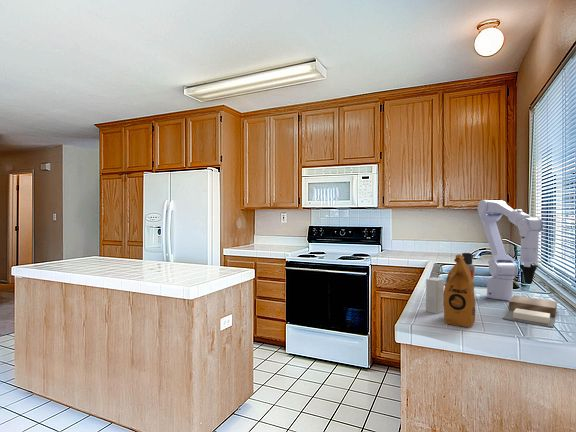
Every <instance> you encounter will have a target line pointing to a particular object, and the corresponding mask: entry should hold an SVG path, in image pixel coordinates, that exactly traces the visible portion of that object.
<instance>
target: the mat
mask: <svg viewBox="0 0 576 432" xmlns="http://www.w3.org/2000/svg"><path fill="white" fill-rule="evenodd" d="M513 312H514V311H513V310H509V309H508V310H507V312H506V313H505V314H504V316H503V317H502V320H506V321H510V320H511V321H512V322H517V323H524V324H529V325H535V326H539V325H540V326H541V327H544V328H545V327H546V328H551V327H552V329H553V328H554V325H555V321H556V316H555V317H550V321H549V324H546V323H540V322H534V321H528V320H523V319H517V318H513ZM540 326H539V327H540Z"/></svg>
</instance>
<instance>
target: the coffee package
mask: <svg viewBox="0 0 576 432" xmlns="http://www.w3.org/2000/svg"><path fill="white" fill-rule="evenodd" d="M463 259H464V257H463V256H462V254H457V255H456V254H455V258H454V259H453V261H454V262H455V264H454V265H453V266H452V268H451V269H450V270H449V272H448V274H447V277H446V280H445V282H444V296H443V305H444V306H443V319H444V321H445V323H446V324H447V325H452V326H455V327H463V328H468V327H471V328H472V326H473V325H474V323H475V321H476V295H475V286H474V287H473V282H472V278H471V273H470V270H469V268H468V266H467V265H466V263H465V261H464V260H463Z"/></svg>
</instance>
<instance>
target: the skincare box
mask: <svg viewBox="0 0 576 432" xmlns="http://www.w3.org/2000/svg"><path fill="white" fill-rule="evenodd" d="M425 280H426V281H425V312H427V313H431V314H436V315H437V314H440V313H442V312H444V305H443V296H444V288H445V279H444V278H441V277H429V278H426V279H425Z"/></svg>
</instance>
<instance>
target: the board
mask: <svg viewBox="0 0 576 432" xmlns="http://www.w3.org/2000/svg"><path fill="white" fill-rule="evenodd" d="M557 302H558V301H556V300H550V299H544V298H543V299H542V298H535V297H528V296H521V295H520V296H519V295H512V298H511V300H510V301H508V310H513V311H514V310H515V309H516V308H518V309H525V310H531V311H538V312H544V313H550V317H555V318H556V316H557V311H558V310H557V306H558V303H557Z"/></svg>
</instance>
